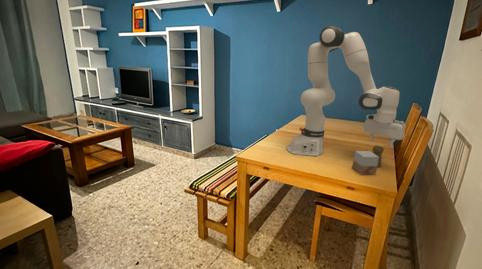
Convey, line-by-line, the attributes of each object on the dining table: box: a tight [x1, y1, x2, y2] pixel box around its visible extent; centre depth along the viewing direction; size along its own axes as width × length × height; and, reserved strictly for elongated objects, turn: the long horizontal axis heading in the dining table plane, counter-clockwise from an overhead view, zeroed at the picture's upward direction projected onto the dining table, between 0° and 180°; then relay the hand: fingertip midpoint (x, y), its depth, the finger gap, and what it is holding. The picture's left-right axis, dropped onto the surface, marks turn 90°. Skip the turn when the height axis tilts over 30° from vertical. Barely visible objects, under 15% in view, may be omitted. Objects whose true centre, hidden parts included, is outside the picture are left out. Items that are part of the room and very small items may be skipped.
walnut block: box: [351, 159, 378, 176], centre depth 129 cm, size 8×8×5 cm
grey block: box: [353, 150, 379, 166], centre depth 128 cm, size 8×8×5 cm
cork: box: [372, 145, 385, 168], centre depth 136 cm, size 6×6×11 cm
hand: (380, 143), depth 134 cm, fingers open, 8 cm apart
